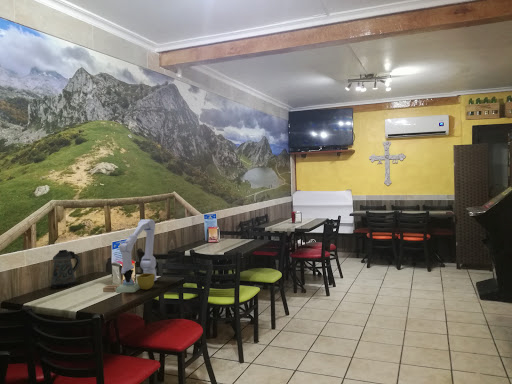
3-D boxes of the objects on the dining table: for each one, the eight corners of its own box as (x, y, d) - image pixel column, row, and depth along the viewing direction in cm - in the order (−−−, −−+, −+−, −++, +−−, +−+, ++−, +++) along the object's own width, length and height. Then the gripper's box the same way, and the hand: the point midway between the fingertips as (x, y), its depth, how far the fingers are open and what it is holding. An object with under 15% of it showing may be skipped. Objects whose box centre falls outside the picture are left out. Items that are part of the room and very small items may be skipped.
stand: (108, 288, 264) (107, 285, 264) (120, 288, 263) (120, 284, 263) (103, 291, 258) (102, 287, 257) (116, 291, 256) (115, 287, 256)
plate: (123, 288, 259) (123, 277, 259) (133, 288, 259) (133, 278, 258) (123, 288, 258) (123, 278, 258) (133, 289, 258) (133, 278, 257)
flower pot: (148, 290, 254) (147, 277, 254) (136, 290, 257) (136, 276, 257) (156, 286, 262) (155, 273, 262) (144, 286, 265) (143, 273, 265)
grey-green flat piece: (123, 287, 265) (123, 282, 265) (141, 287, 263) (141, 282, 263) (116, 292, 254) (115, 287, 254) (134, 292, 252) (134, 286, 252)
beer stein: (45, 288, 276) (42, 252, 274) (66, 280, 294) (64, 247, 293) (64, 289, 270) (61, 253, 269) (84, 281, 289) (82, 247, 288)
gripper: (126, 259, 265) (127, 278, 266) (116, 264, 251) (117, 284, 252) (136, 258, 265) (137, 278, 265) (126, 263, 250) (128, 284, 251)
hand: (128, 281), depth 258 cm, fingers closed on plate, 1 cm apart
